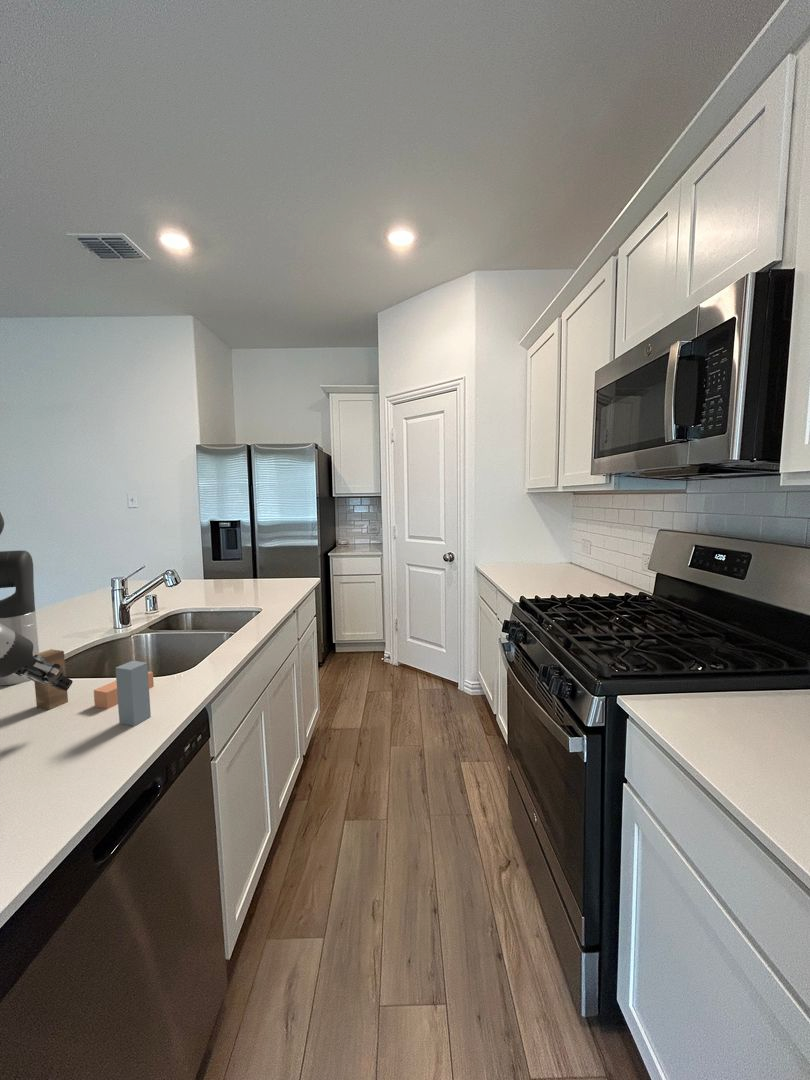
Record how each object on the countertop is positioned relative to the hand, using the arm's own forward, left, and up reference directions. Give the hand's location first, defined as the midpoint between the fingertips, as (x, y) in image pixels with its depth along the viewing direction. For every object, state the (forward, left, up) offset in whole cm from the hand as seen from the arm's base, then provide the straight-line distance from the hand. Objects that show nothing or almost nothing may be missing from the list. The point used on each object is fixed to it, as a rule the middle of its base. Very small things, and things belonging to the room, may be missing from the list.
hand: (67, 685), depth 91 cm
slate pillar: (+8, +10, -8) cm, 15 cm away
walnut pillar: (-13, -2, -8) cm, 16 cm away
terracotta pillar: (-4, +6, -6) cm, 10 cm away
